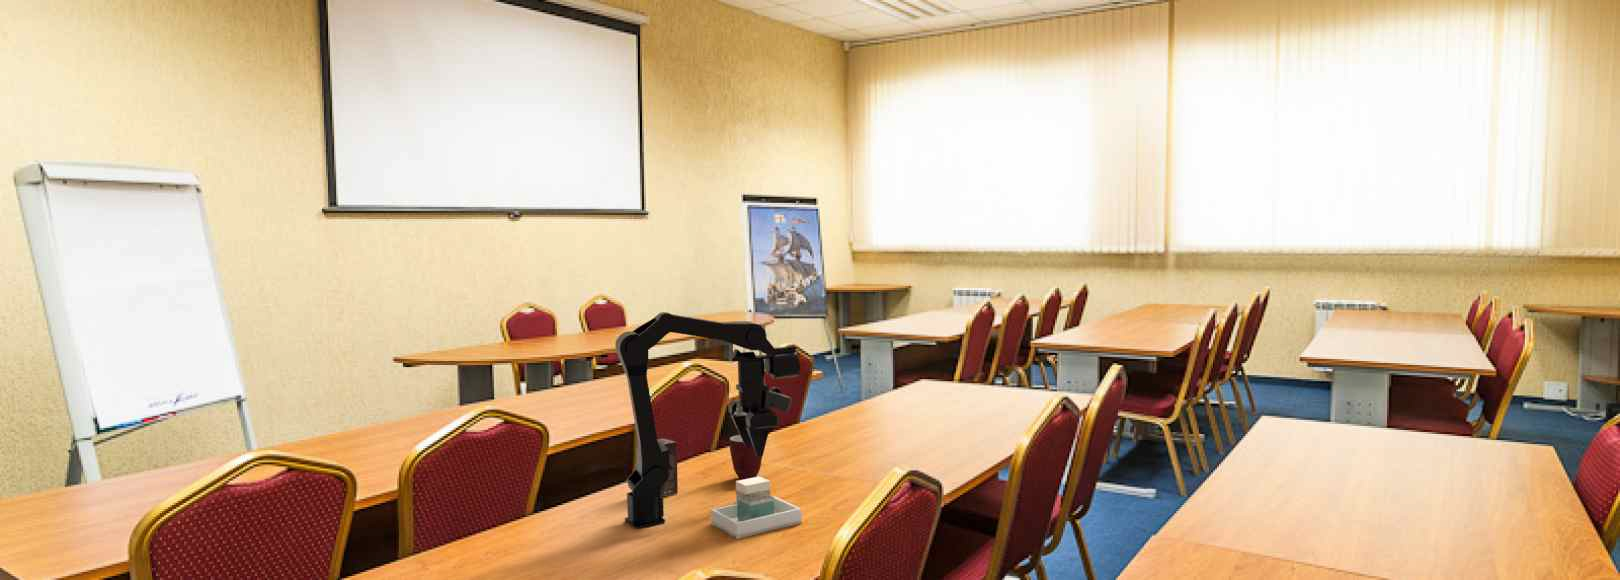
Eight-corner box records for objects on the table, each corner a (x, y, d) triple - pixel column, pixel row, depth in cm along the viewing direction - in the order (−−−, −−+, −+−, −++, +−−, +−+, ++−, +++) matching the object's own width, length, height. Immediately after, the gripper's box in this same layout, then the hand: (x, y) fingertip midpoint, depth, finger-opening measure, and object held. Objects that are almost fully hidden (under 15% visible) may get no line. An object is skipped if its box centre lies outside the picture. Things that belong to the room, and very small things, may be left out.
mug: (756, 487, 207) (755, 444, 206) (723, 485, 208) (722, 444, 207) (767, 474, 217) (766, 434, 216) (735, 473, 218) (734, 433, 218)
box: (679, 493, 203) (677, 441, 202) (662, 497, 200) (660, 444, 199) (666, 487, 208) (664, 437, 207) (648, 491, 205) (647, 440, 204)
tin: (736, 519, 181) (736, 495, 181) (760, 514, 185) (760, 490, 184) (750, 527, 177) (750, 502, 176) (775, 521, 180) (774, 497, 180)
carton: (746, 508, 191) (745, 485, 191) (736, 503, 195) (735, 481, 195) (770, 503, 194) (769, 480, 194) (760, 498, 198) (759, 476, 198)
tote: (737, 538, 172) (736, 523, 172) (711, 523, 181) (710, 509, 181) (801, 523, 180) (801, 508, 180) (773, 509, 189) (773, 496, 189)
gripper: (801, 384, 184) (803, 457, 185) (774, 371, 201) (776, 438, 202) (749, 388, 180) (752, 464, 181) (726, 375, 197) (729, 444, 198)
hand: (753, 451), depth 191 cm, fingers open, 9 cm apart
